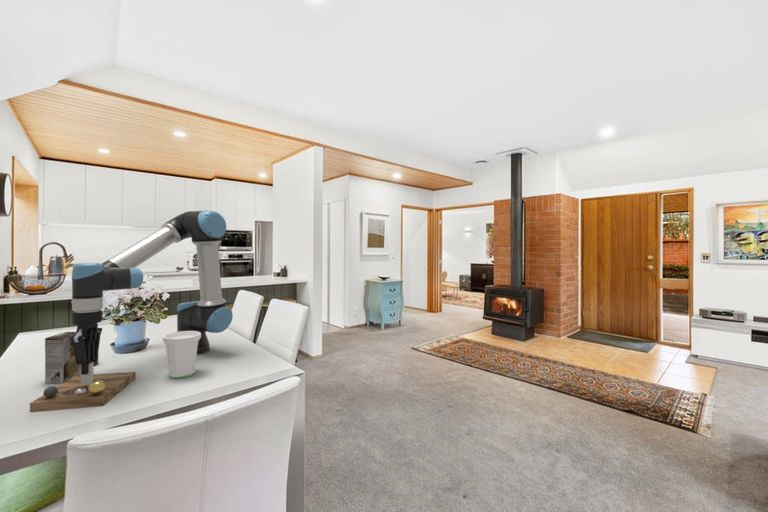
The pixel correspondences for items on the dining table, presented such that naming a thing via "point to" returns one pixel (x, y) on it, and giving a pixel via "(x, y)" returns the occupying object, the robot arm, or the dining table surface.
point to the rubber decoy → (50, 391)
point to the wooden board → (85, 399)
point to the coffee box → (60, 359)
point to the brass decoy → (97, 387)
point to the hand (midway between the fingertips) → (87, 382)
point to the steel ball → (80, 390)
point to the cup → (181, 353)
